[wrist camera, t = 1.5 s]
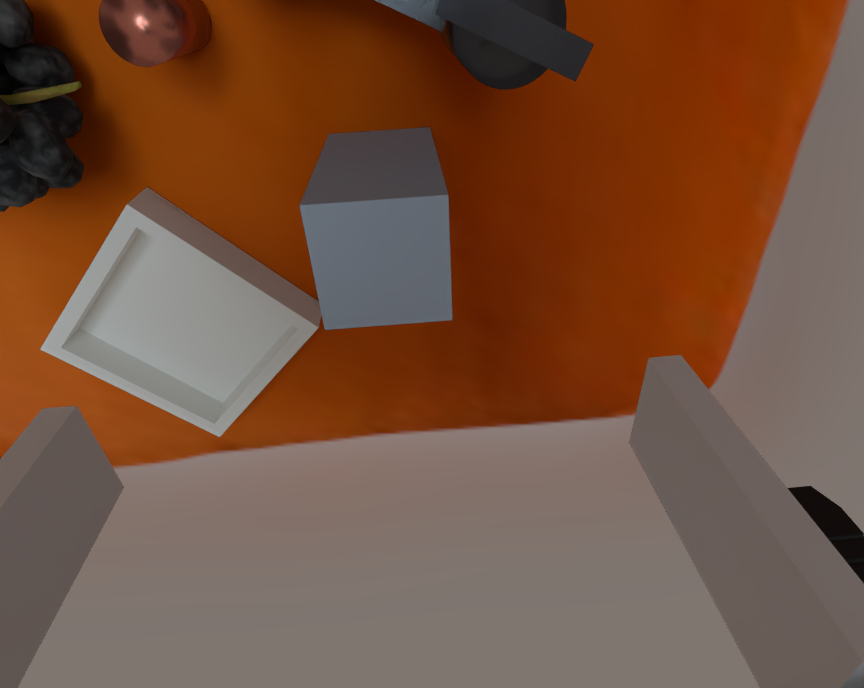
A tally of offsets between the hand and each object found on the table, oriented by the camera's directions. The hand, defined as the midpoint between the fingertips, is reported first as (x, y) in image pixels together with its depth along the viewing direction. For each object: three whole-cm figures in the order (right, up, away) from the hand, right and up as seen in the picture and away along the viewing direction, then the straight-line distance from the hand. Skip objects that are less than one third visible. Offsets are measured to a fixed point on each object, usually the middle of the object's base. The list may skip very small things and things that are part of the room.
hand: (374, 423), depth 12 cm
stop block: (-1, +10, +15) cm, 18 cm away
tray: (-13, +4, +18) cm, 23 cm away
